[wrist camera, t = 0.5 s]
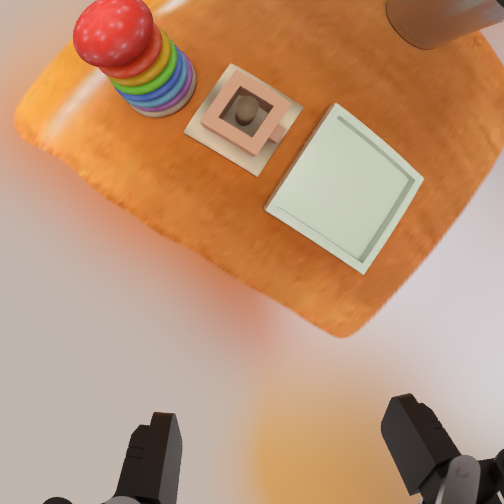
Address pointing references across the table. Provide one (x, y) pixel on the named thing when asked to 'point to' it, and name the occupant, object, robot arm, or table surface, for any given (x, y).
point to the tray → (345, 189)
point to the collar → (267, 102)
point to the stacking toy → (135, 56)
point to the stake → (240, 124)
